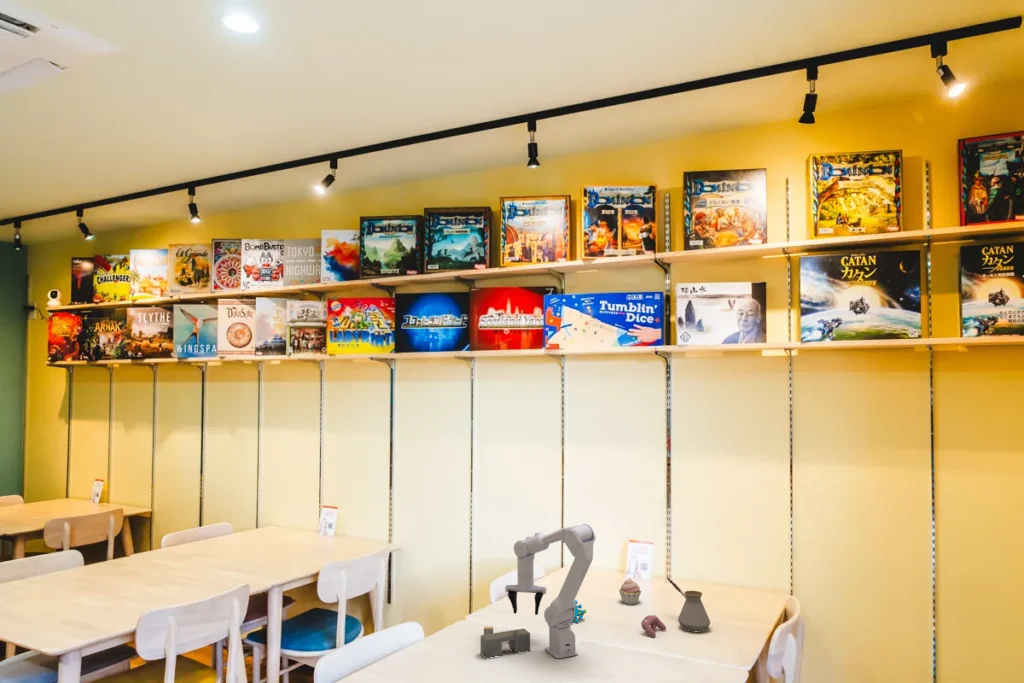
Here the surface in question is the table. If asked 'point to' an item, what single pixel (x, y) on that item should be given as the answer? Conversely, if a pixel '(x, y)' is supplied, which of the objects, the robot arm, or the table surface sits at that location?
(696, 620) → the coffee pot
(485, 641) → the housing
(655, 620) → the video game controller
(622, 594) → the cupcake
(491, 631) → the grey rectangular bar
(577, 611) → the spiky virus model
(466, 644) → the table surface
